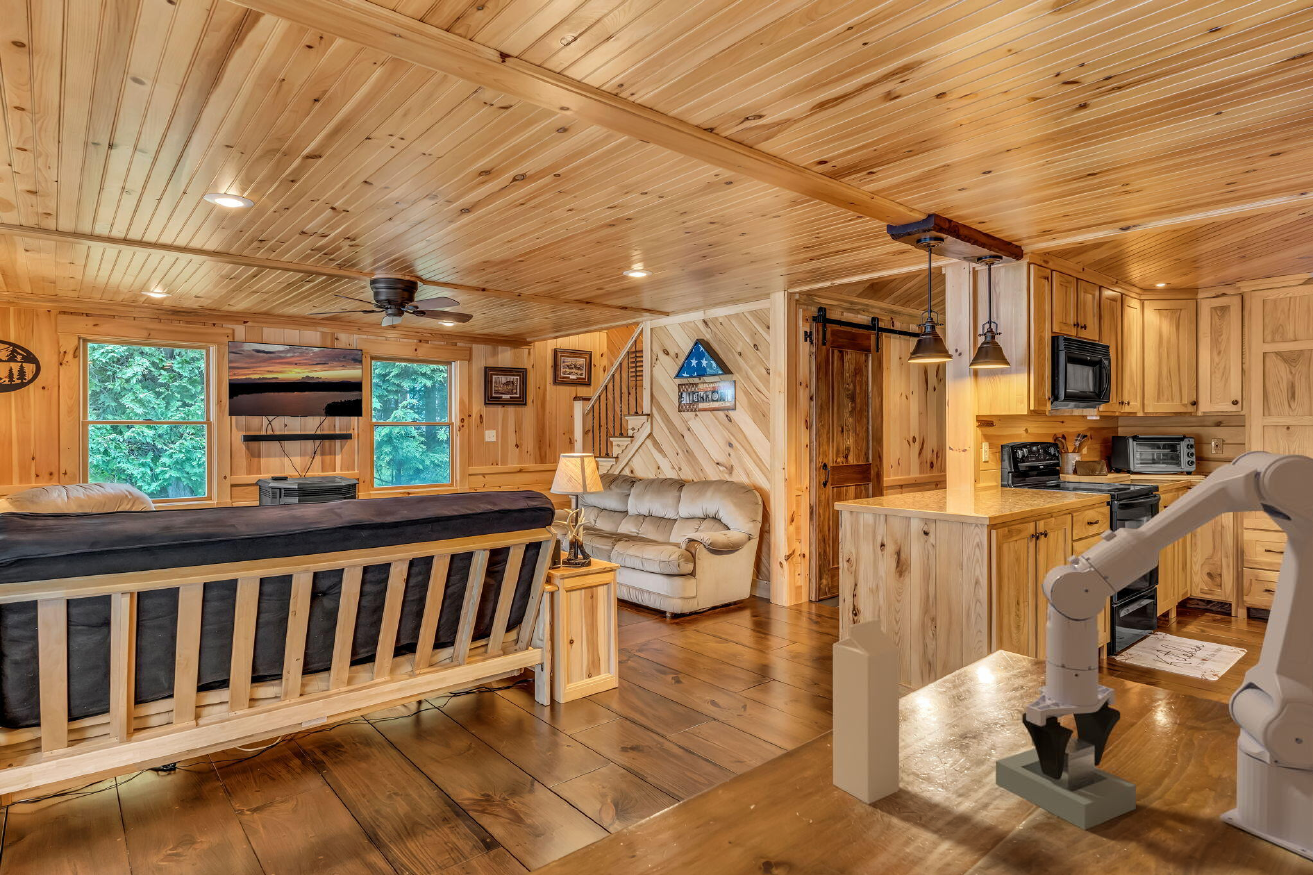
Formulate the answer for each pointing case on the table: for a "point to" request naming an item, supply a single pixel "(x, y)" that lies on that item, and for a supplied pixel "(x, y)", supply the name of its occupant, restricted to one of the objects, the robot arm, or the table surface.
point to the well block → (1066, 791)
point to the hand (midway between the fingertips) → (1071, 768)
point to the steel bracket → (1076, 765)
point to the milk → (866, 713)
